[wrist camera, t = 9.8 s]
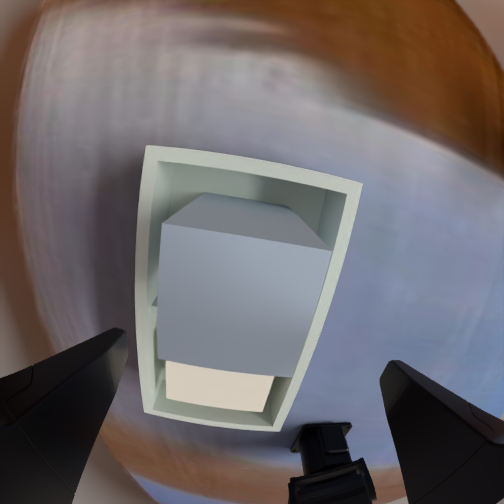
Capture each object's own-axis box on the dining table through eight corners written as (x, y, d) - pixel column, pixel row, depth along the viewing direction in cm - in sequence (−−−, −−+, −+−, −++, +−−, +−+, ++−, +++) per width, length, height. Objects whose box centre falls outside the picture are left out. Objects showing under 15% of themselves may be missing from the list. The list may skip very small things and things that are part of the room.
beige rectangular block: (260, 384, 23) (262, 412, 20) (174, 371, 23) (166, 398, 19) (275, 330, 21) (280, 357, 18) (176, 314, 21) (165, 340, 17)
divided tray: (274, 393, 25) (279, 431, 20) (157, 376, 24) (144, 412, 19) (335, 178, 19) (362, 183, 14) (170, 149, 18) (146, 145, 13)
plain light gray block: (272, 281, 20) (292, 377, 10) (195, 269, 20) (157, 358, 10) (287, 205, 18) (332, 251, 9) (205, 192, 18) (162, 223, 8)
